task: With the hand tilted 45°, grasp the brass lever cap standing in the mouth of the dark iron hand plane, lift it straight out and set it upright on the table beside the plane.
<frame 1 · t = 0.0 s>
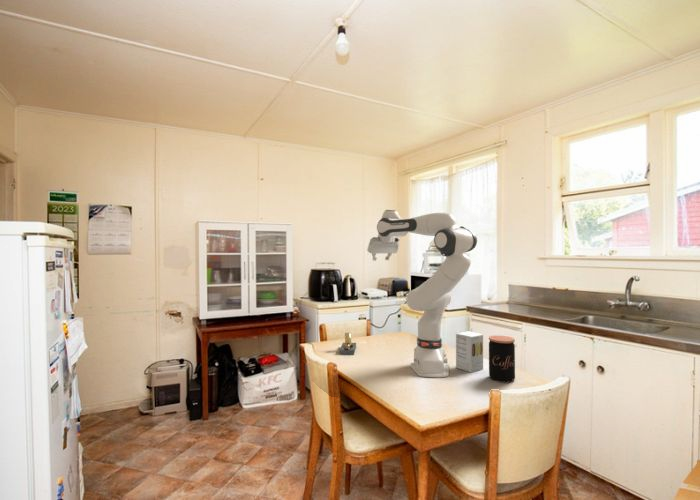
hand: (380, 260, 205), 52 cm above the table, tool tilted 20°, fingers open, 8 cm apart
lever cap: (348, 350, 203), resting in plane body
coffee jar: (501, 379, 156), on the table
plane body: (348, 350, 203), on the table
supplement box: (469, 368, 171), on the table
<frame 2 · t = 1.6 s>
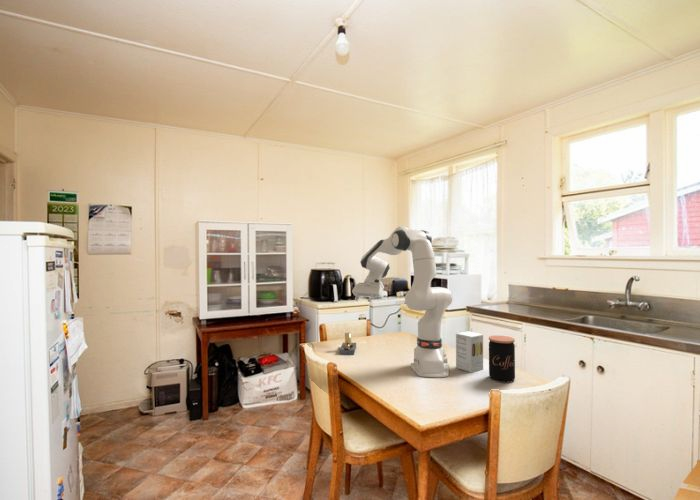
hand: (362, 300, 214), 27 cm above the table, tool tilted 45°, fingers open, 8 cm apart
nothing on the table moved.
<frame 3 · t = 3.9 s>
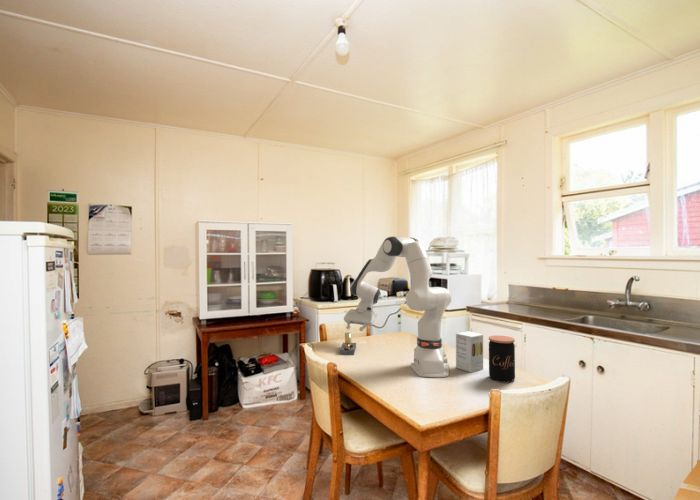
hand: (354, 329, 208), 11 cm above the table, tool tilted 45°, fingers open, 8 cm apart
nothing on the table moved.
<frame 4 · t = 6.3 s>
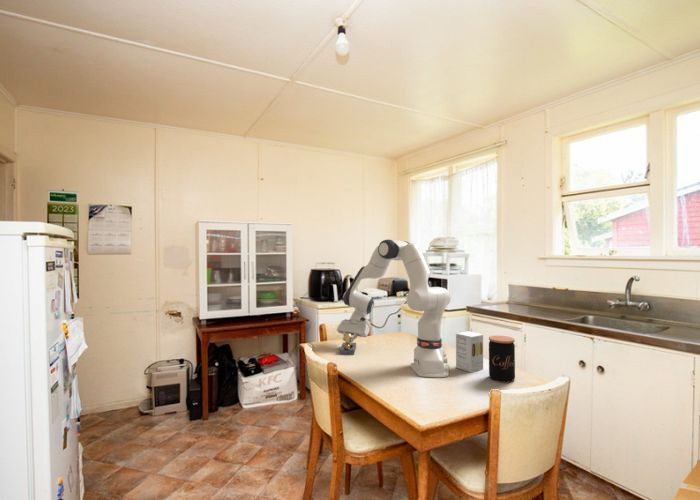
hand: (347, 340, 202), 6 cm above the table, tool tilted 45°, fingers closed on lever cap, 4 cm apart
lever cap: (348, 350, 203), resting in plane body, touching gripper
everything else where it was.
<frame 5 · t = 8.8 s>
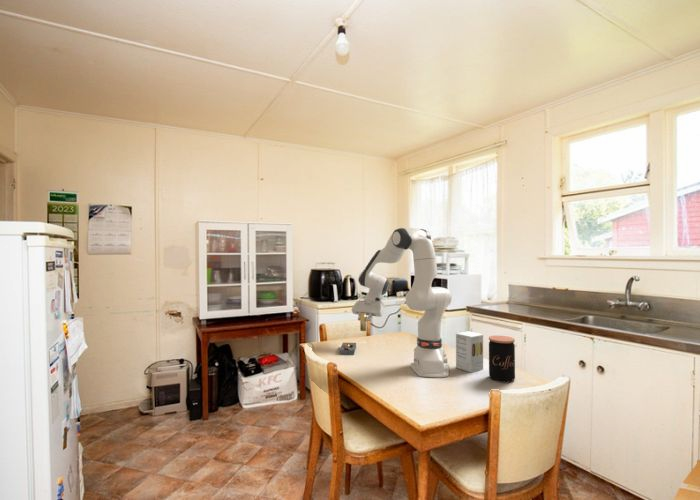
hand: (362, 320, 204), 17 cm above the table, tool tilted 45°, fingers closed on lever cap, 4 cm apart
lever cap: (363, 330, 205), point 11 cm above the table, touching gripper
everything else where it was.
when the fingers open (7 cm above the table, at t = 11.3 s): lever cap drops 1 cm, on the table.
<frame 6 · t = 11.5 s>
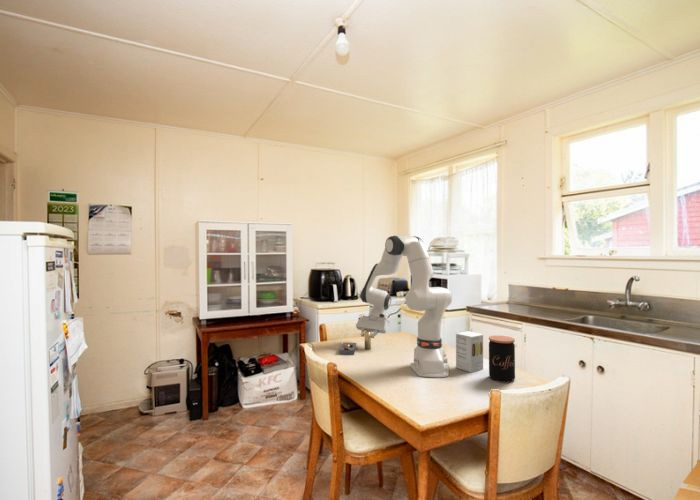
hand: (367, 336, 205), 7 cm above the table, tool tilted 45°, fingers open, 5 cm apart
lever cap: (367, 349, 205), on the table
everything else where it was.
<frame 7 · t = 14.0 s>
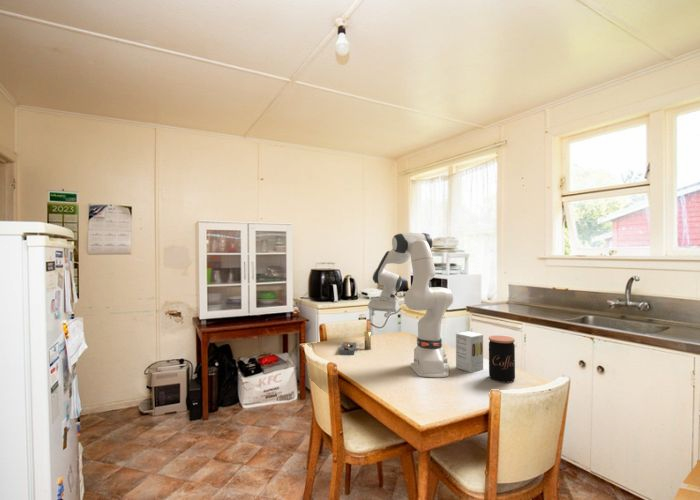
hand: (378, 315, 215), 18 cm above the table, tool tilted 45°, fingers open, 8 cm apart
nothing on the table moved.
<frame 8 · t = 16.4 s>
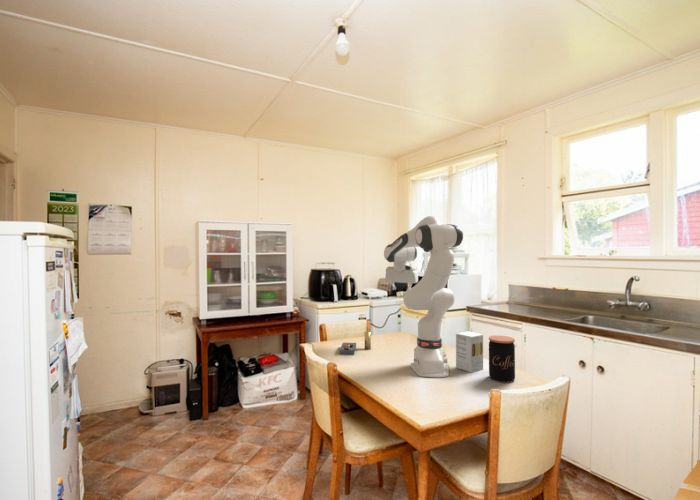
hand: (401, 290, 208), 34 cm above the table, tool pointing down, fingers open, 8 cm apart
nothing on the table moved.
at the end: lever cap inside the target area (0.0 cm from its centre), on the table; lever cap tilted 0°; the gripper is holding nothing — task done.
